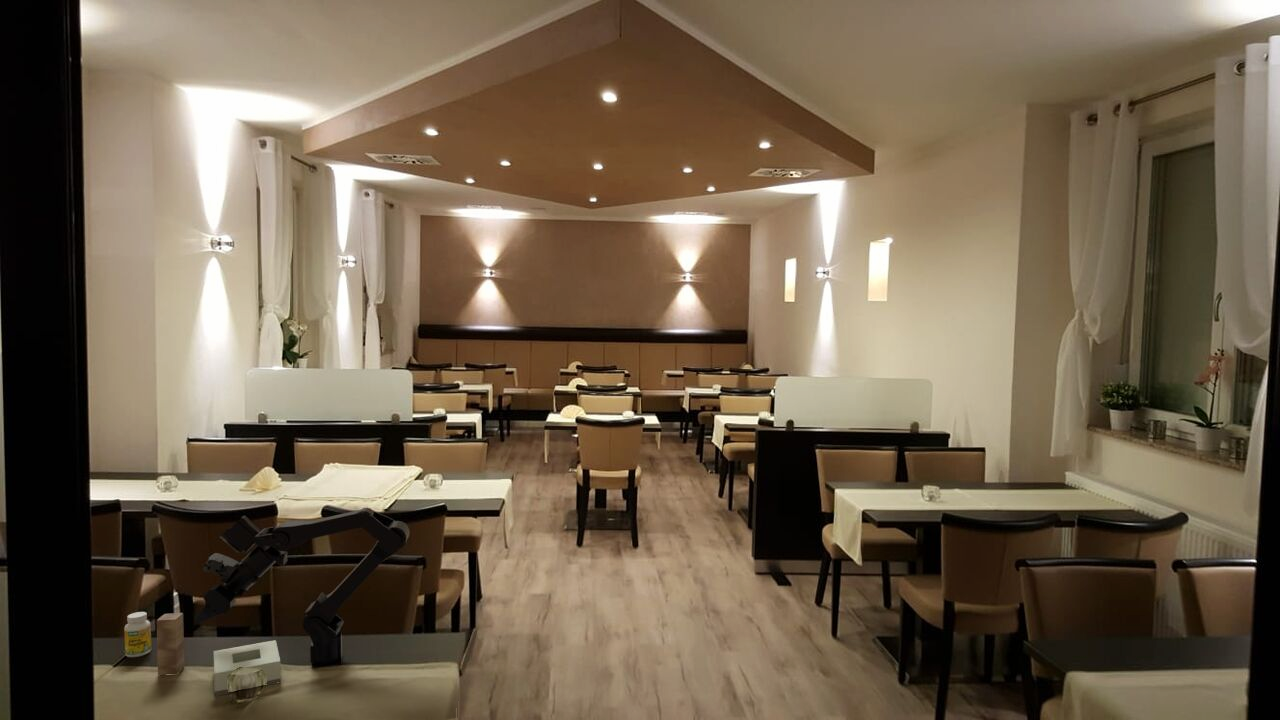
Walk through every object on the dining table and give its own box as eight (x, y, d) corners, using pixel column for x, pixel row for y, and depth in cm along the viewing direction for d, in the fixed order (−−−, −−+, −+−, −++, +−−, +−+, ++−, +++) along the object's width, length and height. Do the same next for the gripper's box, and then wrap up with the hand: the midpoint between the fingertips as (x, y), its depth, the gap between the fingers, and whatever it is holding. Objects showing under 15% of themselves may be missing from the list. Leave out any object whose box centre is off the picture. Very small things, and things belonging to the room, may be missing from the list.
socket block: (276, 660, 184) (275, 640, 183) (280, 682, 172) (280, 660, 172) (214, 672, 177) (213, 651, 177) (214, 696, 166) (214, 673, 166)
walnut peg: (184, 667, 180) (183, 612, 179) (176, 674, 176) (175, 619, 175) (165, 668, 179) (164, 613, 178) (157, 676, 175) (156, 620, 175)
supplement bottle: (151, 646, 191) (150, 609, 190) (151, 654, 186) (150, 615, 186) (125, 651, 188) (124, 613, 188) (124, 659, 184) (123, 620, 183)
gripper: (241, 532, 187) (193, 578, 186) (212, 554, 169) (159, 606, 168) (276, 562, 189) (228, 608, 188) (251, 587, 171) (198, 639, 169)
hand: (204, 614), depth 178 cm, fingers open, 9 cm apart
